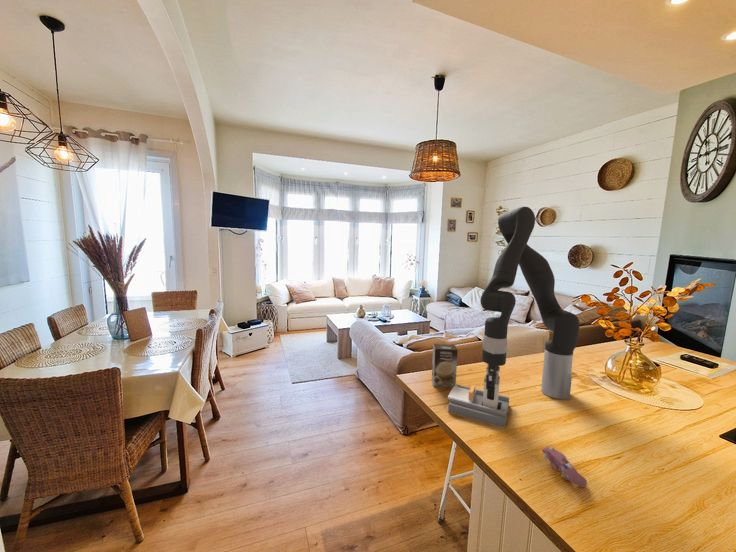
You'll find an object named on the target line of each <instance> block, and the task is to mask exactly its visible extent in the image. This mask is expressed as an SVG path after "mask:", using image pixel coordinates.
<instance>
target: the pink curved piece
mask: <svg viewBox="0 0 736 552" xmlns="http://www.w3.org/2000/svg"><path fill="white" fill-rule="evenodd" d="M541 449H542V452H543V458H544V459H545V460H548V461H549V463H550V464H551V466H552V468H553V469H554V470H555V471H559V474H560V477H561V478H563V480H564V481H570V482H571V483H572V484H574V485H576V486H577V487H581V488H584V487H586V486H587V485H588V484H587V483H588V482H587V479H586V478H585V477H584V476H583V475H582V474H580V473H579V471H577V469H576V468H575V467H574V465H573V464H572V463H571V462H569V460H568V459H567V457H566V456H565V455H564V454H563V452H560V451H559V450H557V449H555V448H554V447H553V446H552V445H551V446H546V447H544V448H541Z"/></svg>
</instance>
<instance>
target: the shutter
mask: <svg viewBox="0 0 736 552" xmlns="http://www.w3.org/2000/svg"><path fill="white" fill-rule="evenodd" d="M475 389H476V385H475V384H471V386H470V390H468V389H464V388H460V387H457V385H456V386H454V387H451V390H450V392H449V394H448V395H447V400H450V397H451V398H455V399H459V400H463V401H466V402H470V403H472V401H473V399H474V396H475V394H476V391H475Z"/></svg>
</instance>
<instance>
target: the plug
mask: <svg viewBox="0 0 736 552" xmlns="http://www.w3.org/2000/svg"><path fill="white" fill-rule="evenodd" d="M486 375H487V373H485V376H484V379H483V390H482V391H483V406H485V407H489V408H493V409H497V406H498V398H499V395H500V383H501V376H499V377H498V379H497V383H496V384H495V392H494V400H490V399H487V389H486ZM495 380H496V378H495ZM490 386H492V385H490Z"/></svg>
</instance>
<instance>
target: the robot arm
mask: <svg viewBox="0 0 736 552" xmlns="http://www.w3.org/2000/svg"><path fill="white" fill-rule="evenodd" d="M535 224H536V216H535V213H534V210H532V208H530V207H528V206H521V207H520V206H519V207H517V208H514V209H511V210H509V211H506V212H503V213H501V214H500V215H499V216H498V218H497V225H498V228H499V231H500V233H501V235H502V236H503V238H504V240H505V241H506V243H507V245H506V247H505V248H504V249H503V251H501V253H500V255H499V256H498V258H497V260H496V262H495V266H494V268H493V273H492V276H491V279H490V280H489V282H488V284H487V286H486V287H485V289H484V290H483V291H482V294H481V296H480V306H481V307H482V309H484V310H485V311H489V312H490V311H492V312H498V313H500V316H492V317H490V316H489V317H487V318H486V319H485V321H484V332H483V333H484V334H483V340H482V352H481V353H482V354H481V355H482V356H481V360H482V362H483V363H485V364H486V365H487V367H486V368H485V372H486V373H485V375H486V374H487V375H486V389H487V399H490V400H494V392H495V384H496V383H497V379H498V377H500V371H501V366H504V365H506V363H507V351H508V350H507V349H508V339H507V338H508V328H509V322H510V320H511V316H512V313H513V312H514V308H515V306H516V303H517V301H516V297H515V295H514V294H513V293H512V292H510V291H505V290H501V289H504V288H505V289H506V288H510V287H512V286H513V285H514V283H515V281H516V276H517V272H518V268H520V270H521V273H522V275H523V276H524V277H523V278H524V280H525V281H526V284H527V285H528V287H529V289H530V292H531V294H532V296H533V298H534V300H535V303H536V305H537V308H538V311H539V313H540V316H541V317H540V318H541V319H542V323H543V325H544V326H545V328H546V329H548V330H549V331H551V332H553V333H552V339H550V340H547V341H545V344H544V354H543V365H542V367H543V368H542V375H541V376H542V377H541V379H542V380H541V390H540V391H541V392H542V393H543V394H544V395H545V396H548V397H550V398H552V399H557V400H571V399H570V397H571V389H572V379H573V378H572V377H573V375H572V369H573V361H574V360H573V359H574V358H573V357H574V351H575V349H576V347H577V345H578V339H579V333H580V326H581V325H580V320H579V319H580V318H579V317H578V316H577V314H574V313H572V312H570V311H567V310H566V309H565V310H564V309H563V308H562V307H561V305H560V304H559V301H558V299H557V298H556V294H555V287H556V286H555V285H556V281H555V275H554V272H553V270H552V268H551V265H550V263H549V262H548V260H547V259H546V258H545V257H544V256H543V255H542V254H540V253H539V252H538V251H536V250H535V249H533V248H532V247H531V246H529V244H528V241H529V239H530V237H531V236H532V234H533V233H532V232H533V230H534V228H535ZM495 378H496V380H495ZM490 385H492V386H490Z"/></svg>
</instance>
